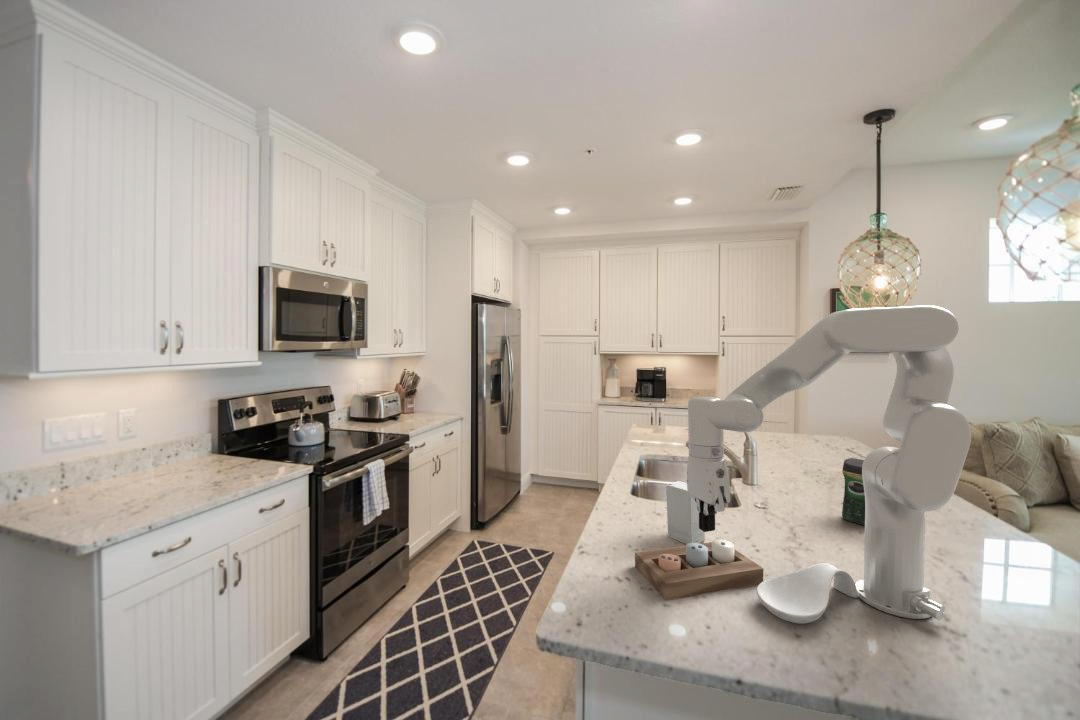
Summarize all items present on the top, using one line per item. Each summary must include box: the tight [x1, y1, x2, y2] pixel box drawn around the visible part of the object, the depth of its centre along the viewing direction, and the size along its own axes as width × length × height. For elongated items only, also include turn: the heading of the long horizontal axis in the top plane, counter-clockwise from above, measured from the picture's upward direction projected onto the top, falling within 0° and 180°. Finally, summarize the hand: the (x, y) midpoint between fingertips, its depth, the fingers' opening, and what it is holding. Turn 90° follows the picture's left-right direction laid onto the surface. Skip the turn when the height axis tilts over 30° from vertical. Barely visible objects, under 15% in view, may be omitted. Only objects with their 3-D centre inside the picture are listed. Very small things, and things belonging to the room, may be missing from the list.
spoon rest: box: [756, 562, 858, 625], centre depth 87 cm, size 24×12×7 cm, turn 115°
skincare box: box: [665, 480, 706, 545], centre depth 117 cm, size 8×6×15 cm
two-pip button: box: [685, 543, 708, 568], centre depth 99 cm, size 5×5×5 cm
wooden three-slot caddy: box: [634, 541, 764, 601], centre depth 99 cm, size 14×24×4 cm, turn 104°
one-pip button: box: [711, 539, 735, 564], centre depth 100 cm, size 5×5×5 cm
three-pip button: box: [659, 554, 681, 572], centre depth 97 cm, size 5×5×5 cm
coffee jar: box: [841, 457, 865, 526], centre depth 128 cm, size 10×8×19 cm
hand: (707, 529), depth 99 cm, fingers closed
